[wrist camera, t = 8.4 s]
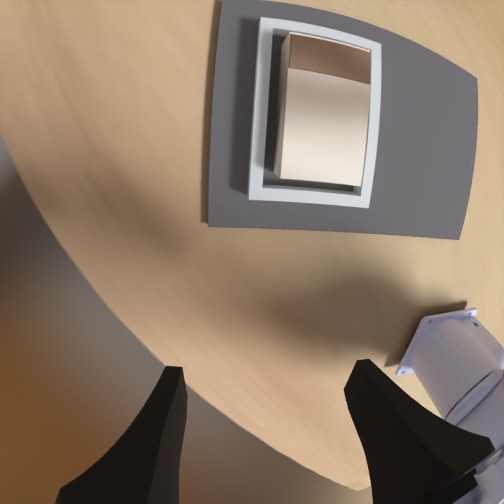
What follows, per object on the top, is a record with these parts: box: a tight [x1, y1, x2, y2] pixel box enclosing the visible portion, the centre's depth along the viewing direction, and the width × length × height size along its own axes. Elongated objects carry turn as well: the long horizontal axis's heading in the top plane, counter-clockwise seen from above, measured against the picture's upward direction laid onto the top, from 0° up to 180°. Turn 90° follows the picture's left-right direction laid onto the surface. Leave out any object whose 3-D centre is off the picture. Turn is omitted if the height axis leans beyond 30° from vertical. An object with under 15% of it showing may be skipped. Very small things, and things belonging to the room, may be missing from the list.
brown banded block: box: [273, 32, 371, 186], centre depth 13 cm, size 8×4×3 cm, turn 177°
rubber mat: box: [208, 0, 478, 240], centre depth 15 cm, size 21×15×1 cm
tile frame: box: [247, 17, 381, 208], centre depth 14 cm, size 7×11×1 cm
